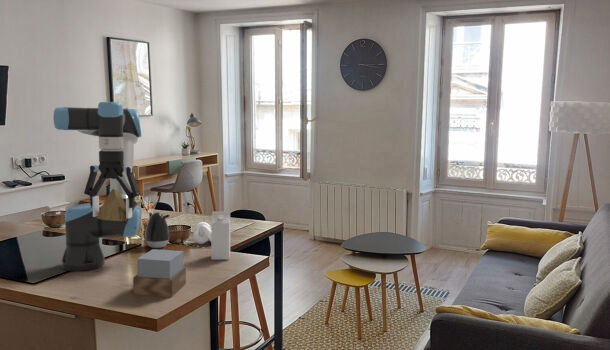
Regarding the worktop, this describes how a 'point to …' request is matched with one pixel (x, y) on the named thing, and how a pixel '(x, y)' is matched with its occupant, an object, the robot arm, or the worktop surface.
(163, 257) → the top block
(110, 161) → the robot arm
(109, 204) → the rock
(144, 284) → the bottom block
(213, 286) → the worktop surface
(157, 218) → the pump dispenser
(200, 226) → the white spiral shell
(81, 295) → the worktop surface
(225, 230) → the milk carton
